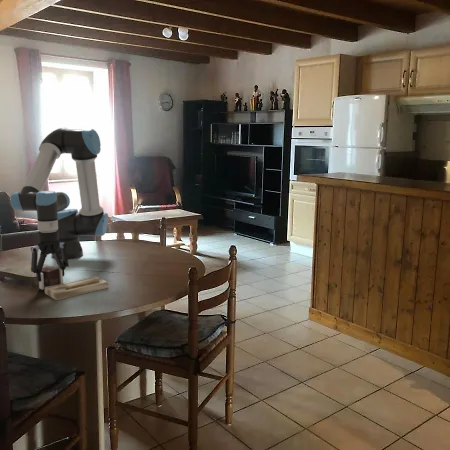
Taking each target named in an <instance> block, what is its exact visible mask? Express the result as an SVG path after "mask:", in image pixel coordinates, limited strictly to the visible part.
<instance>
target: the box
mask: <svg viewBox="0 0 450 450" xmlns="http://www.w3.org/2000/svg"><path fill="white" fill-rule="evenodd" d="M41 273H43V279H44V289H45V287H49V286H53V285H58V284H60V277H59V268H58V267H54V266H44V267H43V268H42V271H41ZM37 286H38V288H39V282H38V281H37Z"/></svg>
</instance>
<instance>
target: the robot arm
mask: <svg viewBox="0 0 450 450" xmlns="http://www.w3.org/2000/svg"><path fill="white" fill-rule="evenodd" d="M101 145H102V144H101V139H100V135H99V134H98V132H97V131H96V130H95V129H94V128H86V127H84V128H83V127H60V128H57V129H55V130H52V131H51V132H50V133H49V134H48V135H46V136H45V138H43V140H42V141H41V143H40V144H39V147H38V151H39V153H38V155H37V157H36V159H35V161H34V163H33V164H32V168H31V169H30V171H29V174H28V176H27V178H26V180H25V183H24V184H23V186H22V188H21V190H20V191H15V192H13V193H12V194H11V196H10V199H9V202H10V206H11V209H13V210H14V211H22V212H25V211H26V212H27V211H29V212H31V211H32V212H36V216H37V218H36V219H37V222H36V223H37V231H38V233H37V237H38V240H37V241H38V245H37V246H34V247H33V246H32V247H31V248H30V251H31V263H30V264H31V265H30V271H31V273H34V274H35V275H36V281H37V283H38V282H39V287H38V288H39V289H40V290H42V291H43V290H45V288H44V279H43V273H41V271H42V268H44V264H45V260H46V258H47V257H48V255H51V258H54V259H55V261H56V263H57V265H58V267H59V277H60V284H62V283H64V280H63V277H65V270H66V268H68V267H69V266H70V265H69V259H75V258H79V257H82V256H83V254H84V251H83V247H82V244H81V243H80V238H79V236H83V237H84V236H85V237H86V236H87V237H103V236H104V235H105V234H106V232H107V230H108V227H109V214H108V213H107V212H104V208H103V207H102V206H101V205H100V195H99V189H98V179H97V171H96V161H95V160H96V159H97V158H98V155H99V154H100V153H101ZM63 154H69V155H71V159H72V160H73V161H75V166H76V167H75V168H76V175H77V181H78V190H79V195H80V196H79V197H80V204H81V208H80V209H79V211H78V209H77V208H69V206H70V204H71V200H70V196H69V195H68V194H67V193H65V192H63V191H62V192H61V191H57V192H56V191H54V190H44V188H45V185H46V184H47V180H48V179H49V176H50V174H51V171H52V169H53V168H54V164H55V162H56V160H58V159H59V158H60V157H61V155H63ZM67 208H68V209H67ZM39 251H40V254H39V259H38V252H39Z"/></svg>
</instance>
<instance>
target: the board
mask: <svg viewBox="0 0 450 450" xmlns="http://www.w3.org/2000/svg"><path fill="white" fill-rule="evenodd" d="M105 289H109V282H108V281H107V280H104V279H103V278H101V277H98V276H95V275H94V276H91V277H85V278H82V279H78V280H77V279H76V280H72V281H68V282H63V283H62V284H58V285H53V286H49V287H45V288H44V294H45V295H47V296H48V297H50V298H52V299H54V300H55V301H59V300H64V299H66V298H71V297H76V296H79V294H80V295H84V293H85V294H88V292H89V293H92V292H97V291H101V290H105ZM75 295H76V296H75Z"/></svg>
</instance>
